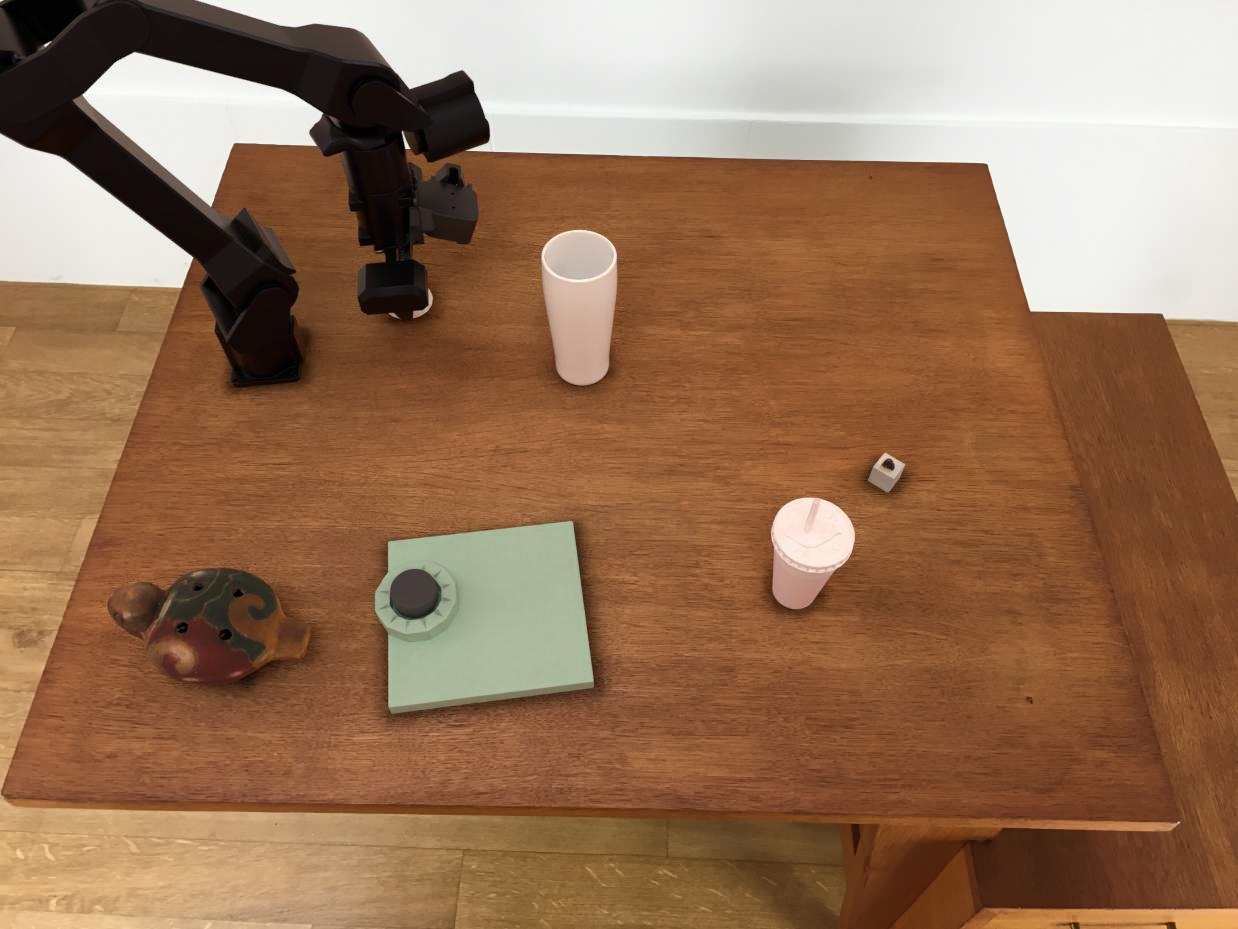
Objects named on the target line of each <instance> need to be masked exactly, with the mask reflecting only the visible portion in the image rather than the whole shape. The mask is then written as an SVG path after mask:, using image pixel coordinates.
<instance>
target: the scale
mask: <svg viewBox="0 0 1238 929" xmlns="http://www.w3.org/2000/svg"><path fill="white" fill-rule="evenodd" d="M574 526H575V525H574V521H573V520H567V521H559V522H558V521H557V522H551V523H550V522H549V523H541V524H532V525H524V526H515V527H514V526H513V527H506V528H505V527H504V528H497V529H487V530H477V531H469V532H459V533H452V534H443V535H442V534H441V535H433V536H424V537H415V538H410V539H409V538H408V539H407V538H405V539H397V540H390V541H389V540H388V541H387V573H386V574H385V575H384V577H383V579H382V580H381V582H380V583H379V585H378V586H377V588H376V590H375V591H374V612H375V614H376V617H377V619H378V621H379V623H381V625H382V626H383V628H384V629H385V631H386V632H387V670H388V671H387V677H388V678H387V686H388V687H387V688H388V689H387V690H388V691H387V693H388V694H387V695H388V696H387V697H388V698H387V699H388V700H387V703H388V706H387V708H388V709H389V712H390V713H391V714H392V715H393V714H399V713H400V714H401V713H407V712H408V713H409V712H416V711H424V710H430V709H441V708H449V707H454V706H463V705H471V704H479V703H486V702H492V701H493V702H494V701H501V700H503V701H504V700H508V699H517V698H524V697H533V696H540V695H549V694H556V693H557V694H558V693H563V692H564V693H565V692H572V691H580V690H588V689H589V690H590V689H594V687H595V681H594V674H593V673H594V672H593V665H592V658H591V650H590V642H589V634H588V627H587V619H586V611H585V604H584V596H583V595H584V594H583V589H582V580H581V572H580V565H579V558H578V551H577V550H578V549H577V543H576V534H575V527H574ZM409 569H421V570H424V571H426V572H428V573H429V574H430V575H431V576H432V577H433V579H434V581H435V584H436V587H437V591H438V601H437V604H436V606H435V607H434V609H433V610H432V611H431V612H430V613H428V614H427V615H425V616H422V617H419V618H408V617H405V616H403V615H401V614H400V613H399V612H398V611H397V610H396V608H395V606H394V603H393V601H392V598H391V595H390V587H391V584H392V582H393V580H394V579H395V578H396V577H397V576H398V575H399V574H400V573H402V572H404V571H406V570H409Z"/></svg>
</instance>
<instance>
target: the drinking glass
mask: <svg viewBox="0 0 1238 929" xmlns="http://www.w3.org/2000/svg"><path fill="white" fill-rule="evenodd" d="M540 257H541V258H540V260H541V264H540V265H541V266H540V268H541V269H540V272H541V285H542V294H543V300H544V306H545V310H546V315H547V321H548V324H549V325H548V326H549V331H550V336H551V342H552V348H553V353H554V362H555V369H556V372H557V374H558V375H559V376H560V378H561V379H562V380H564V381H565V382H567V383H569V384H571V385H575V386H582V387H583V386H591V385H594V384H596V383H599V381H600V380H602V379H603V378H605V376H606V375H607V373H608V371H609V367H610V351H611V342H612V334H613V329H614V328H613V327H614V319H615V311H616V306H617V305H616V304H617V296H618V295H617V294H618V284H619V283H618V281H619V280H618V279H619V278H618V276H619V274H618V253H617V249H616V247H615V246H614V244H613V243H612V242H611V241H610V240H609V238H607V237H606V236H604V235H603V234H600V233H598V232H595V231H592V230H585V229H575V230H573V229H572V230H568V231H563V232H561V233H558V234H557V235H555V236H553V237H551V238H550V239H549V240H548V241H547V242H546V243H545V245H544V246H543V248H542V250H541V255H540Z"/></svg>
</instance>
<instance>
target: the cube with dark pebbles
mask: <svg viewBox="0 0 1238 929" xmlns="http://www.w3.org/2000/svg"><path fill="white" fill-rule="evenodd" d="M905 467H906V464H905V463H904V462H902V461H900V460H898V459H896V457H894V456H892V455H890V454H889V453H887V452H884V453H883V454H882V455H881V456H880V458H879V459H878V461H876V463H875V464H874V465H873V467H872V469H871V471H870V474H869V477H868V479H867V482H869V483H871V484H873V485H874V486H876V487H877V488H879V489H881V490H882V491H884V492H886V493H887V494H889V492H891V490H892V489H893V487H894V486H896V483H897V482H898V481H899V480H900V478H901V476H902V473H903V471H904V469H905Z"/></svg>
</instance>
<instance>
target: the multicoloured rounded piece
mask: <svg viewBox="0 0 1238 929" xmlns="http://www.w3.org/2000/svg"><path fill="white" fill-rule="evenodd" d="M106 607H107V608H106V609H107V612H108V614H109V615H110V617H111V618H112V619H113V621H114V622H115V623H116V625H118V626H119V627H120V628H121V629H122V630H124V631H125V632H127V633H129V635H132V636H134V637H136V638H139V639H140V640H142V641H143V646H144V648H143V650H144V656H145V658H146V660H147V661H148V663H149V665H150V667H152V669H154V670H155V671H157V672H158V673H160V674H161V675H163V676H165V677H167V678H170V679H173V680H175V681H178V682H182V683H188V684H193V685H194V684H195V685H229V684H234V683H238V682H239V681H240V680H242V679H244V677H247V676H248V675H250V674H252V673H254V672H256V671H257V670H259V669H260V668H262V667H263V666H265V665H266V664H268V663H269V662H273V661H299V660H302V659H304V657H305V656H306V654H307V653H308V651H309V650H310V648H311V641H312V627H311V625H310V624H309V623H307V622H304V621H302V620H298V619H295V618H291V617H289V616H287V615H285V613H284V611H283V608H282V605H281V601H280V599H279V597H278V595H277V593H276V591H275V590H274V589H273V587H271V585H269V584H268V583H267V582H266V581H264V580H263V579H262V578H260V577H258V576H257V575H254V574H253V573H251V572H248V571H245V570H241V569H236V568H232V567H231V568H230V567H209V568H206V567H205V568H201V569H196V570H193V571H191V572H190V571H189V572H188V573H185V574H183V575H181V576H180V577H179V578H177V579H176V580H175V581H174V582H173V583H172V584H171V585H170V587H169V588H168V589H166V590H165V589H162V588H160V586H158V585H156V584H155V583H152V582H148V581H142V580H138V581H132V582H127V583H126V584H122V585H120V586H119V587H117V588H116V589H114V590H113V591H112V592H111V594H109V596H108V599H107V603H106Z"/></svg>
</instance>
